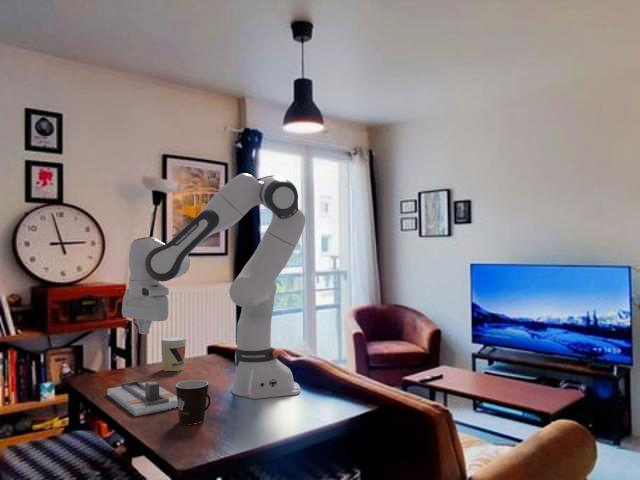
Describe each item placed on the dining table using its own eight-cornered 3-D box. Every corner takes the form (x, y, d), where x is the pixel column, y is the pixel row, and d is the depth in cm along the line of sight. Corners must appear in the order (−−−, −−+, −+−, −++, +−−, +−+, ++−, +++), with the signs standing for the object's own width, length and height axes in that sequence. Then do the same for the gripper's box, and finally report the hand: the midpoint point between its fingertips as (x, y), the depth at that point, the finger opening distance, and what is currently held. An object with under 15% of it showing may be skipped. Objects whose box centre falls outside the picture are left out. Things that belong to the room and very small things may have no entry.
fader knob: (145, 397, 146) (145, 382, 146) (154, 396, 148) (154, 381, 148) (149, 400, 143) (149, 385, 144) (159, 398, 145) (159, 383, 145)
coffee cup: (171, 373, 184) (172, 341, 184) (155, 370, 189) (155, 339, 190) (190, 368, 192) (191, 338, 192) (174, 365, 197) (175, 335, 197)
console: (107, 394, 157) (107, 385, 157) (150, 387, 165) (150, 378, 166) (135, 416, 136) (135, 405, 137) (183, 406, 145) (183, 396, 145)
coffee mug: (173, 418, 135) (173, 381, 135) (205, 414, 139) (205, 378, 139) (179, 432, 125) (179, 393, 125) (213, 427, 128) (213, 389, 128)
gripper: (116, 288, 157) (116, 332, 156) (153, 291, 144) (153, 338, 144) (134, 287, 162) (134, 329, 161) (172, 289, 149) (172, 335, 149)
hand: (144, 333), depth 152 cm, fingers closed
